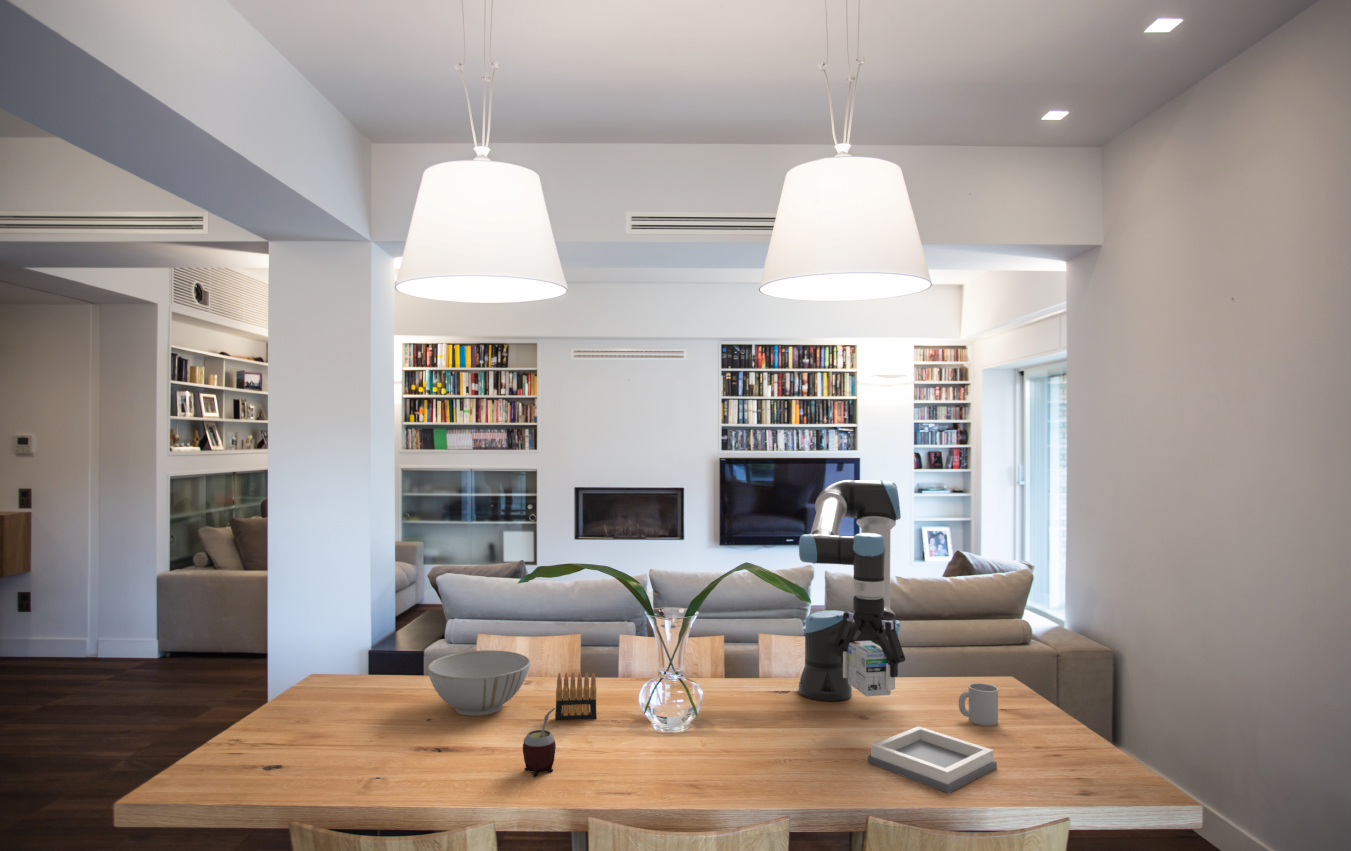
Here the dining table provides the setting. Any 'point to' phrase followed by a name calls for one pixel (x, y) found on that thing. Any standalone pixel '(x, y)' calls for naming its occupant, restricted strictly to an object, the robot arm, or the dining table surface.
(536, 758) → the mate gourd
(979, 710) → the cup
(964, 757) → the socket dock
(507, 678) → the decorative bowl
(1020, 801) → the dining table surface
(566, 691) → the ammunition clip
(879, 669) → the light bulb box
